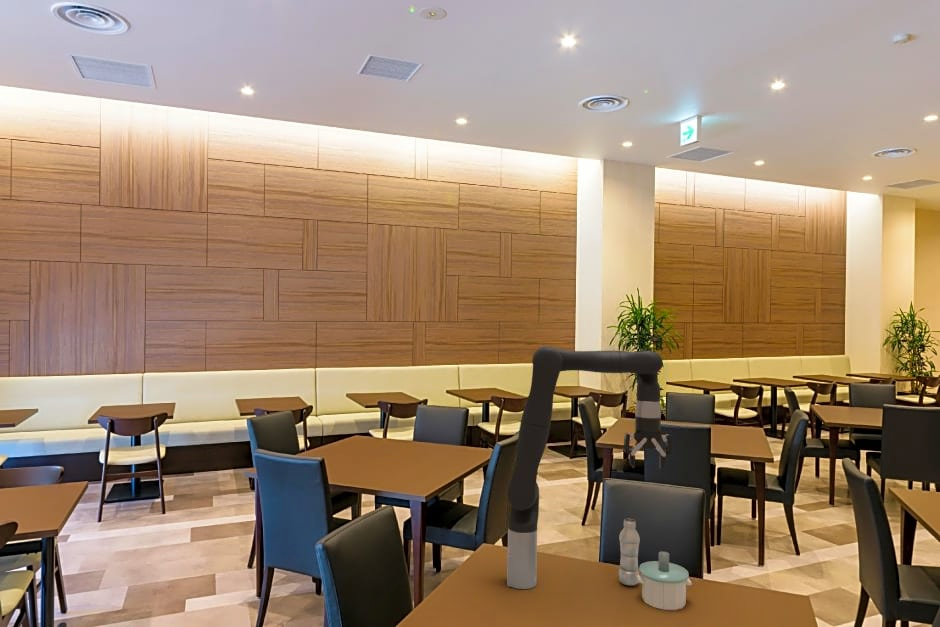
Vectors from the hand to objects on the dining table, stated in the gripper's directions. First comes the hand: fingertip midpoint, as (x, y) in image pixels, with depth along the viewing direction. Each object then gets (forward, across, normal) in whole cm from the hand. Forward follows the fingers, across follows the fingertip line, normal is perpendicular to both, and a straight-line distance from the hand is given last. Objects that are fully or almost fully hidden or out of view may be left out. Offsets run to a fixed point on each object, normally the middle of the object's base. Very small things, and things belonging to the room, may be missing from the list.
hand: (647, 467), depth 189 cm
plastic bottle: (+38, -4, +5) cm, 39 cm away
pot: (+38, +4, -6) cm, 39 cm away
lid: (+30, +4, -6) cm, 31 cm away
